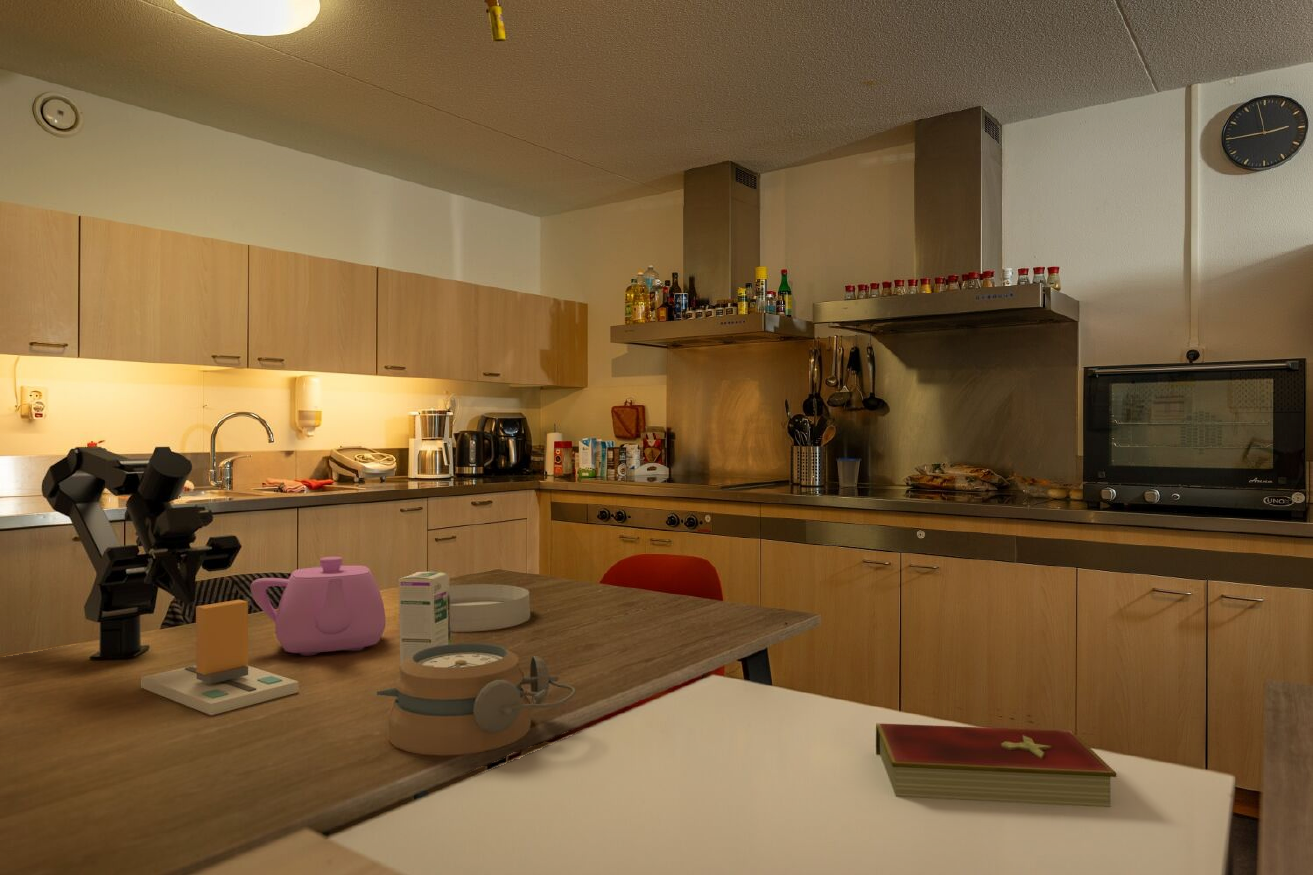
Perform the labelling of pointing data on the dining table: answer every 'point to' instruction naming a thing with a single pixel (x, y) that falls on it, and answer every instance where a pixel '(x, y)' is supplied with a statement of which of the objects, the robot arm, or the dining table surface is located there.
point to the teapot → (325, 608)
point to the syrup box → (423, 612)
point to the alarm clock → (465, 699)
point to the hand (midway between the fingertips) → (191, 602)
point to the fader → (222, 641)
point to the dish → (487, 607)
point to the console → (218, 689)
